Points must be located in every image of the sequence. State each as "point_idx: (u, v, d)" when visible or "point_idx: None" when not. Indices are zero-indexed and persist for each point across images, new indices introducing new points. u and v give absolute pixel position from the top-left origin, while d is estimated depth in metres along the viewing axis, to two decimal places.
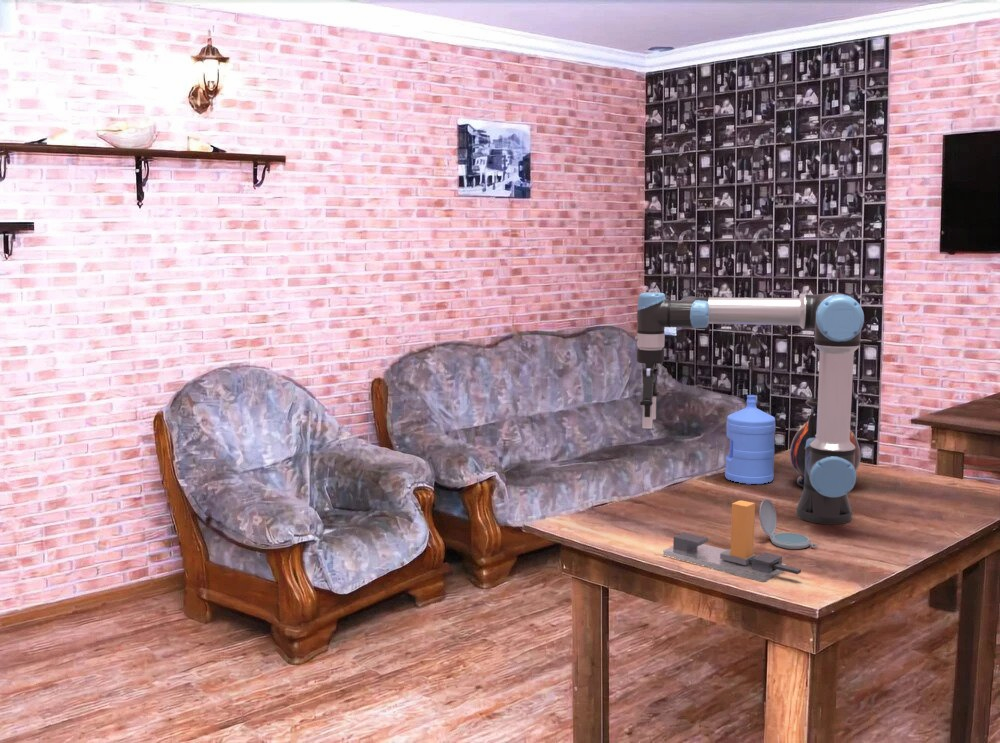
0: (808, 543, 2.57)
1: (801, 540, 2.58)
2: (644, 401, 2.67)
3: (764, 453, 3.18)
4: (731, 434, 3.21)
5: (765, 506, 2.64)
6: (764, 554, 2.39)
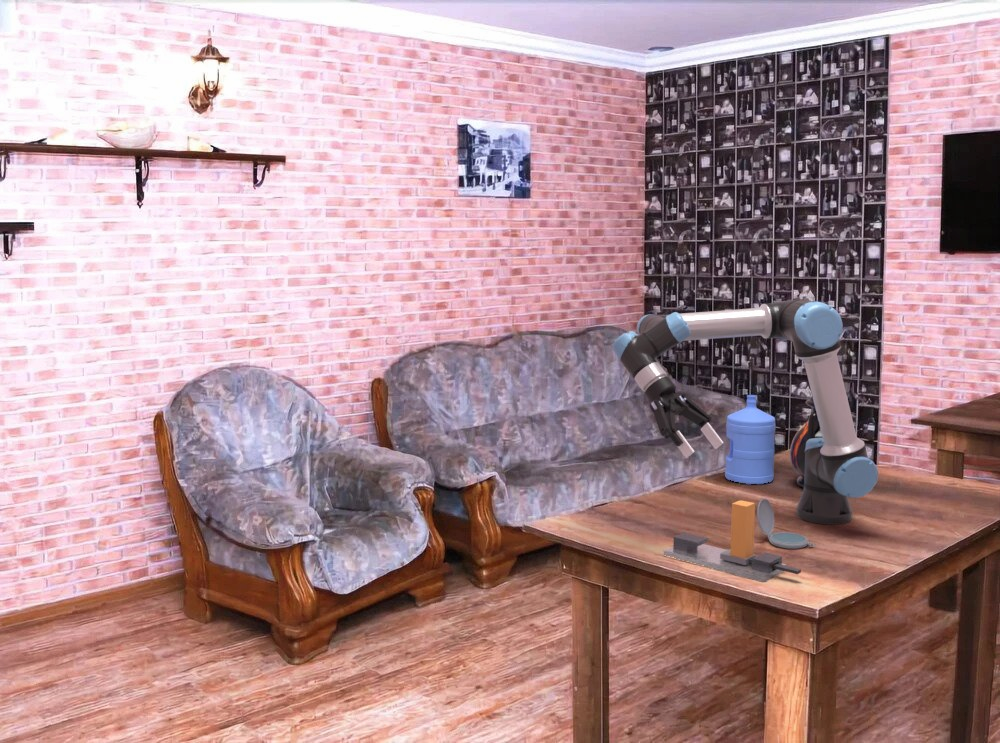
0: (806, 543, 2.57)
1: (799, 540, 2.59)
2: (662, 432, 2.42)
3: (764, 453, 3.18)
4: (731, 434, 3.21)
5: (763, 506, 2.64)
6: (764, 554, 2.39)
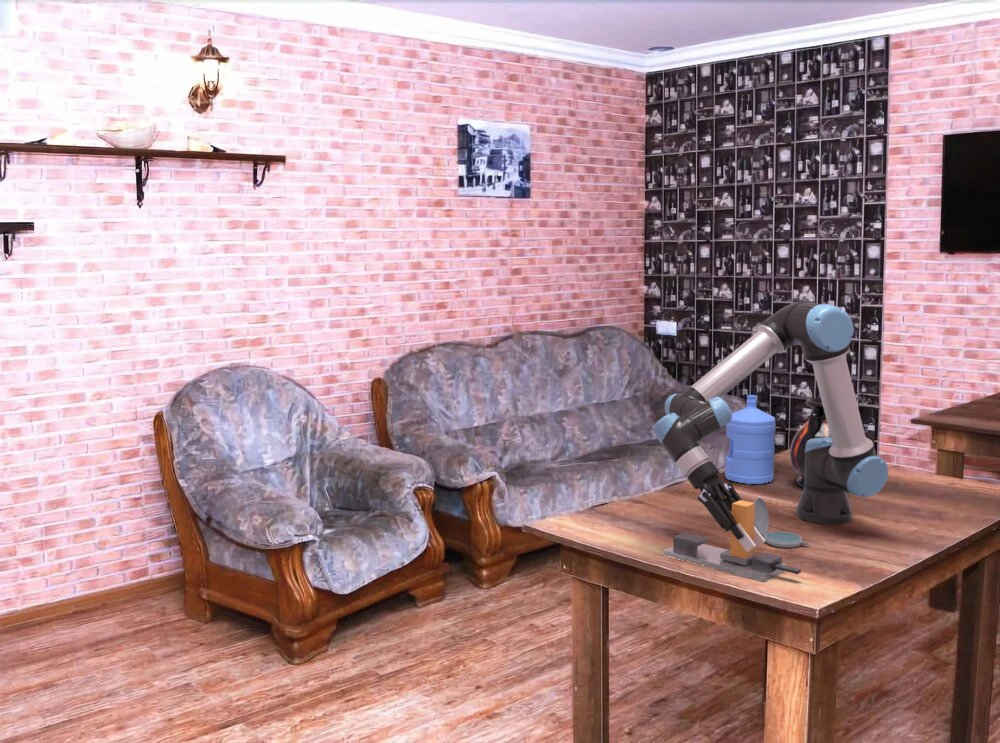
0: (800, 542, 2.58)
1: (793, 539, 2.60)
2: (723, 526, 2.38)
3: (764, 453, 3.18)
4: (731, 434, 3.21)
5: (757, 505, 2.65)
6: (764, 554, 2.39)
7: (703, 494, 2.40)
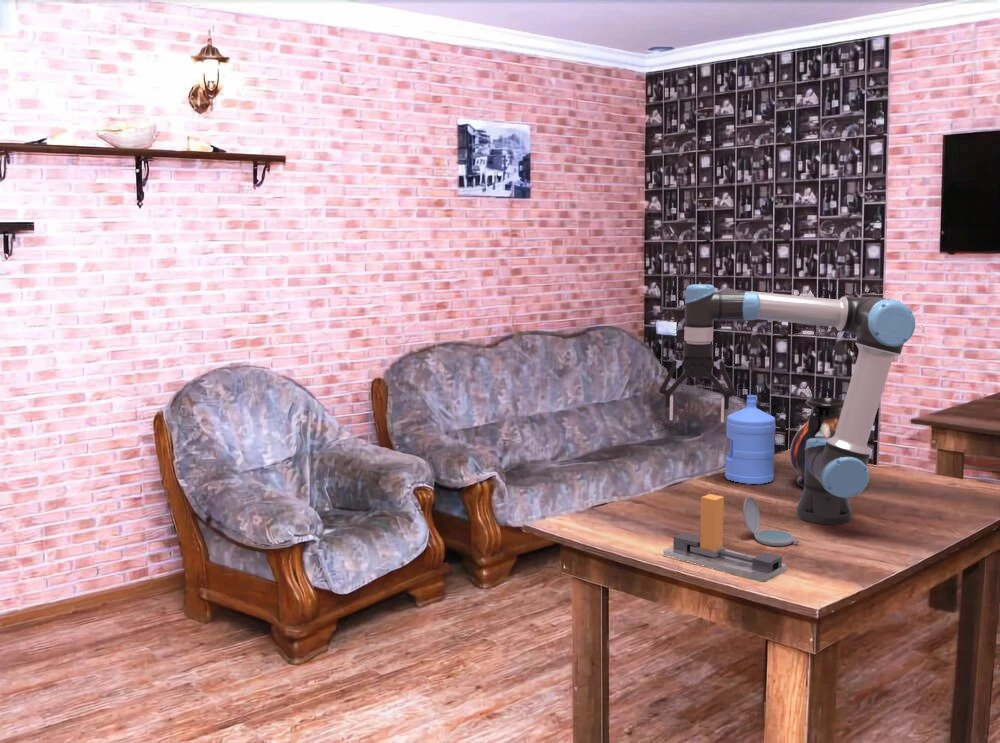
0: (791, 540, 2.59)
1: (784, 537, 2.61)
2: None
3: (764, 453, 3.18)
4: (731, 434, 3.21)
5: (749, 504, 2.66)
6: (764, 554, 2.39)
7: (672, 361, 2.66)
